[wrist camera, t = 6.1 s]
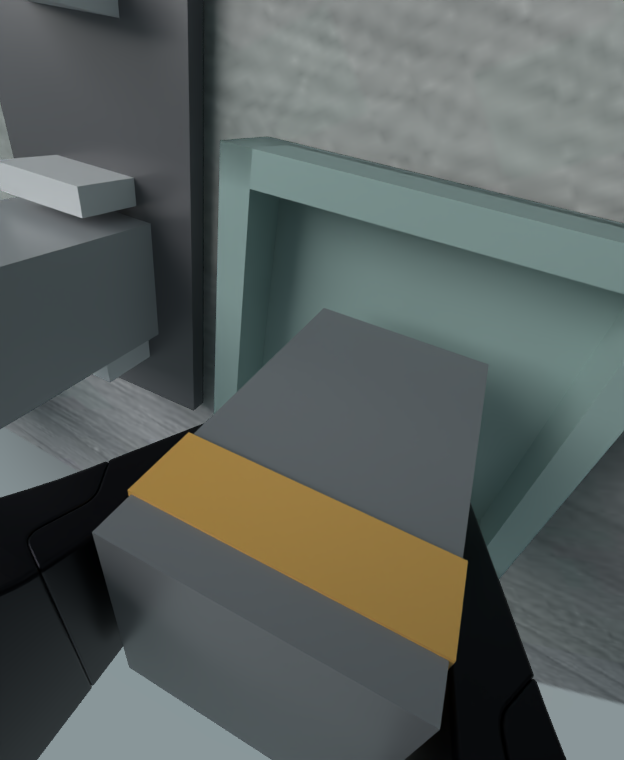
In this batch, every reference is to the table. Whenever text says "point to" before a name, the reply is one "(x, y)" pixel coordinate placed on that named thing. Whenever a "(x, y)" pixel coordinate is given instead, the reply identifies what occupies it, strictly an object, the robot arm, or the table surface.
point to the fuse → (309, 547)
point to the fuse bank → (101, 198)
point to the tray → (435, 304)
